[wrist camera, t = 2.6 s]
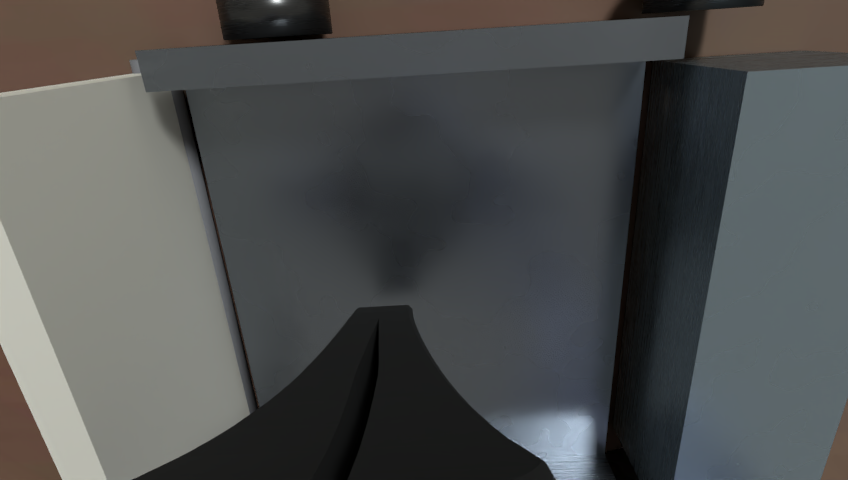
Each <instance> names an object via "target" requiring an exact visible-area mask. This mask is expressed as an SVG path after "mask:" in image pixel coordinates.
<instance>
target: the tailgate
mask: <svg viewBox="0 0 848 480" xmlns="http://www.w3.org/2000/svg"><path fill="white" fill-rule="evenodd" d="M129 61H130V65H131V68H132V72H133V74H127V75H120V76H113V77H106V78H99V79H92V80H86V81H79V82H72V83H65V84H58V85H51V86H44V87H38V88H31V89H24V90H17V91H10V92H3V93H0V344H1V347H2V349H3V351H4V353H5V355H6V357H7V360H8V362H9V364H10V366H11V368H12V371H13V373H14V375H15V377H16V379H17V382H18V384H19V386H20V388H21V390H22V393H23V395H24V397H25V399H26V401H27V403H28V406H29V408H30V410H31V412H32V414H33V417H34V419H35V421H36V423H37V425H38V428H39V430H40V432H41V434H42V436H43V439H44V441H45V443H46V445H47V447H48V449H49V452H50V454H51V456H52V458H53V460H54V463H55V465H56V467H57V469H58V471H59V474H60V476H61V478H62V480H132V479H134V478H137V477H139V476H141V475H143V474H145V473H147V472H149V471H151V470H153V469H156V468H158V467H160V466H162V465H164V464H166V463H168V462H170V461H172V460H174V459H176V458H178V457H180V456H182V455H184V454H186V453H188V452H190V451H192V450H193V449H195V448H197V447H199V446H201V445H202V444H204V443H206V442H208V441H209V440H211V439H213V438H215V437H216V436H218V435H219V434H221V433H223V432H224V431H226V430H228V429H229V428H231V427H232V426H234V425H235V424H237V423H238V422H240V421H241V420H243V419H244V418H245V417H247V416H248V415H250V414H251V413H253V412H254V411H255V410H257V409H258V407H257V403H256V399H255V395H254V390H253V386H252V382H251V378H250V373H249V369H248V365H247V361H246V356H245V352H244V348H243V344H242V339H241V335H240V331H239V327H238V322H237V318H236V314H235V310H234V305H233V301H232V297H231V293H230V288H229V284H228V280H227V276H226V271H225V267H224V263H223V259H222V254H221V250H220V246H219V242H218V237H217V233H216V229H215V225H214V220H213V216H212V212H211V208H210V204H209V199H208V195H207V191H206V187H205V182H204V178H203V174H202V170H201V165H200V161H199V157H198V153H197V148H196V144H195V140H194V136H193V131H192V127H191V123H190V119H189V114H188V110H187V106H186V102H185V97H184V93H183V90H175V91H159V92H146V91H145V87H144V83H143V79H142V76H141V72H140V68H139V64H138V60H137V59H136V60H129Z"/></svg>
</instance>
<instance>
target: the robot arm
mask: <svg viewBox="0 0 848 480" xmlns="http://www.w3.org/2000/svg"><path fill="white" fill-rule="evenodd" d="M132 480H556V479H555V477H554V475H553V474H552V472H551V470H550V469H549V467H548V465H547V464H546V462H545V461H543V460H542V459H540V458H539V457H537V456H536V455H534V454H532V453H531V452H529V451H528V450H526V449H524V448H523V447H521V446H520V445H518V444H516V443H515V442H513V441H512V440H510V439H509V438H507V437H506V436H504V435H503V434H502V433H501V432H499V431H498V430H497V429H495V428H494V427H493V426H492V425H491V424H490V423H489V422H488V421H487V420H485V419H484V418H483V417H482V416H481V415H480V414H479V413H478V412H477V411H476V410H474V409H473V408H472V407H471V406H470V405H469V404H468V403H467V401H466V400H465V399H464V398H463V397H462V396H461V395H460V394H459V393H458V392H457V390H456V389H455V388H454V387H453V386H452V384H451V383H450V382H449V381H448V379H447V378H446V377H445V375H444V374H443V373H442V371H441V370H440V368H439V367H438V365H437V364H436V362H435V361H434V359H433V358H432V356H431V354H430V353H429V351H428V349H427V347H426V345H425V343H424V342H423V340H422V338H421V336H420V333H419V331H418V329H417V326H416V324H415V321H414V317H413V309H412V308H411V307H410V306H409V305H395V306H377V307H359V308H357V309H356V310H355V311H354V313H353V314H352V315H351V316H350V318H349V319H348V320H347V322H346V323H345V324H344V325H343V327H342V328H341V329H340V330H339V332H338V333H337V334H336V335H335V336H334V338H333V339H332V340H331V341H330V342H329V343H328V345H327V346H326V347H325V348H324V349H323V350H322V352H321V353H320V354H319V355H318V356H317V357H316V358H315V359H314V360H313V361H312V362H311V363H310V364H309V365H308V366H307V367H306V368H305V369H304V370H303V371H302V372H301V374H300V375H299V376H298V377H296V378H295V379H294V380H293V381H292V382H291V383H290V384H289V385H288V386H286V387H285V388H284V389H283V390H282V391H280V392H279V393H278V394H277V395H275V396H274V397H273V398H272V399H271V400H269V401H268V402H267V403H265V404H264V405H263V406H261V407H260V408H258V409H257V410H255V411H254V412H253V413H251V414H250V415H248V416H247V417H245V418H244V419H243V420H241V421H240V422H238V423H237V424H235V425H234V426H232V427H231V428H229V429H228V430H226V431H224V432H223V433H221V434H219V435H218V436H216V437H215V438H213V439H211V440H209V441H208V442H206V443H204V444H202V445H201V446H199V447H197V448H195V449H193V450H192V451H190V452H188V453H186V454H184V455H182V456H180V457H178V458H176V459H174V460H172V461H170V462H168V463H166V464H164V465H162V466H160V467H158V468H156V469H153V470H151V471H149V472H147V473H145V474H143V475H141V476H139V477H137V478H134V479H132Z"/></svg>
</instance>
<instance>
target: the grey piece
mask: <svg viewBox="0 0 848 480" xmlns="http://www.w3.org/2000/svg"><path fill="white" fill-rule="evenodd" d="M216 4H217V9H218V14H219V19H220V24H221V29H222V34H223V39H224V40H239V39H257V38H273V37H289V36H305V35H319V34H332V25H331V17H330V9H329V0H216ZM763 5H764V0H643V6H642V14H647V13H664V12H680V11H695V10H710V9H725V8H739V7H753V6H763ZM689 16H690V15H689ZM689 16H673V17H656V18H639V19H623V20H608V21H592V22H576V23H561V24H545V25H529V26H514V27H498V28H482V29H467V30H451V31H435V32H420V33H404V34H388V35H373V36H357V37H341V38H326V39H310V40H294V41H279V42H263V43H247V44H232V45H216V46H200V47H185V48H171V49H156V50H141V51H135V53H136V57H137V60H138V64H139V68H140V72H141V76H142V79H143V83H144V87H145V91H146V92H159V91H175V90H186V94H187V99H188V103H189V107H190V111H191V116H192V120H193V124H194V129H195V133H196V137H197V141H198V146H199V150H200V154H201V159H202V163H203V167H204V171H205V176H206V180H207V184H208V189H209V193H210V197H211V201H212V206H213V210H214V214H215V219H216V223H217V227H218V231H219V236H220V240H221V244H222V249H223V253H224V257H225V261H226V266H227V270H228V274H229V279H230V283H231V287H232V291H233V296H234V300H235V304H236V308H237V313H238V317H239V321H240V326H241V330H242V334H243V338H244V343H245V347H246V351H247V356H248V360H249V364H250V368H251V373H252V377H253V381H254V386H255V390H256V394H257V398H258V403H259V407H261V406H263V405H264V404H265V403H267V402H268V401H269V400H271V399H272V398H273V397H274V396H275V395H277V394H278V393H279V392H280V391H282V390H283V389H284V388H285V387H286V386H288V385H289V384H290V383H291V382H292V381H293V380H294V379H295V378H296V377H298V376H299V375H300V374H301V372H302V371H303V370H304V369H305V368H306V367H307V366H308V365H309V364H310V363H311V362H312V361H313V360H314V359H315V358H316V357H317V356H318V355H319V354H320V353H321V352H322V350H323V349H324V348H325V347H326V346H327V345H328V343H329V342H330V341H331V340H332V339H333V338H334V336H335V335H336V334H337V333H338V332H339V330H340V329H341V328H342V327H343V325H344V324H345V323H346V322H347V320H348V319H349V318H350V316H351V315H352V314H353V313H354V311H355V310H356V309H357V308H359V307H377V306H395V305H409V306H410V307H411V308H412V309H413V317H414V321H415V324H416V326H417V329H418V331H419V333H420V336H421V338H422V340H423V342H424V343H425V345H426V347H427V349H428V351H429V353H430V354H431V356H432V358H433V359H434V361H435V362H436V364H437V365H438V367H439V368H440V370H441V371H442V373H443V374H444V375H445V377H446V378H447V379H448V381H449V382H450V383H451V384H452V386H453V387H454V388H455V389H456V390H457V392H458V393H459V394H460V395H461V396H462V397H463V398H464V399H465V400H466V401H467V403H468V404H469V405H470V406H471V407H472V408H473V409H474V410H476V411H477V412H478V413H479V414H480V415H481V416H482V417H483V418H484V419H485V420H487V421H488V422H489V423H490V424H491V425H492V426H493V427H494V428H495V429H497V430H498V431H499V432H501V433H502V434H503V435H504V436H506V437H507V438H509V439H510V440H512V441H513V442H515V443H516V444H518V445H520V446H521V447H523V448H524V449H526V450H528V451H529V452H531V453H532V454H534V455H536V456H537V457H539V458H540V459H542V460H543V461H545V462H546V464H547V465H548V467H549V469H550V470H551V472H552V474H553V475H554V477H555V479H556V480H820V479H821V476H822V473H823V470H824V467H825V464H826V461H827V458H828V455H829V452H830V449H831V446H832V443H833V440H834V437H835V434H836V431H837V428H838V425H839V422H840V419H841V416H842V413H843V410H844V407H845V404H846V401H847V398H848V53H840V52H820V51H791V52H775V53H759V54H743V55H727V56H711V57H695V58H684V54H685V46H686V39H687V31H688V24H689ZM646 61H653V66H652V75H651V84H650V93H649V102H648V111H647V120H646V129H645V138H644V147H643V156H642V165H641V174H640V183H639V192H638V201H637V210H636V219H635V228H634V238H633V247H632V256H631V265H630V274H629V283H628V292H627V301H626V310H625V319H624V328H623V337H622V346H621V355H620V364H619V373H618V382H617V391H616V400H615V409H614V419H613V428H614V430H615V432H616V434H617V436H618V438H619V440H620V442H621V444H622V446H623V448H624V450H615V451H611V452H609V453H607V454H605V446H606V436H607V427H608V417H609V408H610V398H611V389H612V379H613V370H614V360H615V351H616V341H617V332H618V322H619V313H620V303H621V294H622V284H623V275H624V265H625V256H626V246H627V237H628V227H629V218H630V208H631V199H632V190H633V180H634V171H635V161H636V152H637V142H638V133H639V123H640V114H641V104H642V95H643V85H644V76H645V66H646Z"/></svg>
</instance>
